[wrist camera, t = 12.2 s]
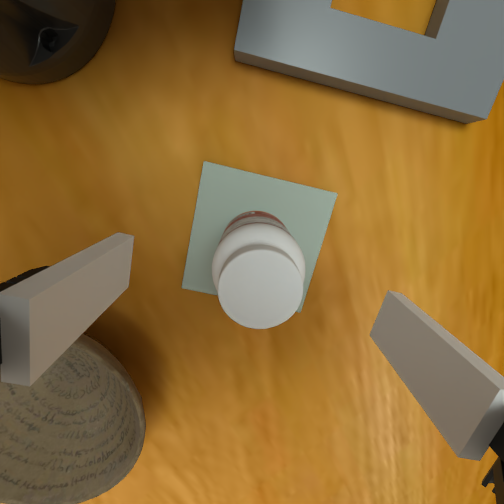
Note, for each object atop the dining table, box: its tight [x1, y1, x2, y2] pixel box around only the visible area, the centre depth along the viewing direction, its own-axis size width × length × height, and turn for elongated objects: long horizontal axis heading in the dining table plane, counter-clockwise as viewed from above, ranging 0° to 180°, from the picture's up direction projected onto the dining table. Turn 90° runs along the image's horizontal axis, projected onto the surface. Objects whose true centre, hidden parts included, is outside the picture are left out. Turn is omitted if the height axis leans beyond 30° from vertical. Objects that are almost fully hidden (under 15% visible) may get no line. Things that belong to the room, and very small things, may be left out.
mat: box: [182, 161, 338, 313], centre depth 26 cm, size 12×12×1 cm
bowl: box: [0, 334, 146, 504], centre depth 25 cm, size 18×18×8 cm
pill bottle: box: [212, 211, 305, 329], centre depth 20 cm, size 6×6×11 cm
